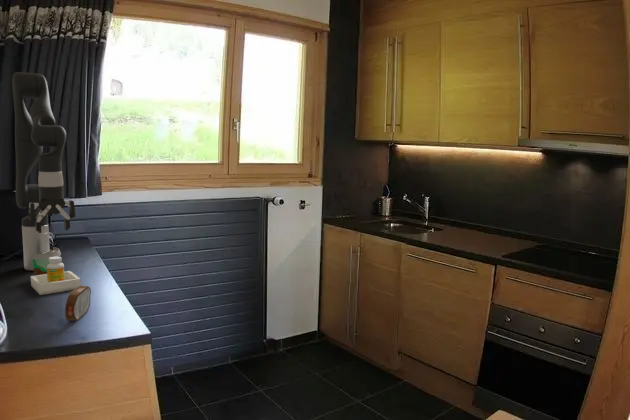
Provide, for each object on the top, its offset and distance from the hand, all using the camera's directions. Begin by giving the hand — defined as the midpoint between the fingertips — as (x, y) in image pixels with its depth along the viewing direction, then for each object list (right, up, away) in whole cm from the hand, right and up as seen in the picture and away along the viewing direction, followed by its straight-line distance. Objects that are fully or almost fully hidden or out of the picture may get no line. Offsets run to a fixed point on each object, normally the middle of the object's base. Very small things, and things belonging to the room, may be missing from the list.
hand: (53, 231), depth 185 cm
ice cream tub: (-8, -18, +16) cm, 25 cm away
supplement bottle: (0, -19, +3) cm, 19 cm away
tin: (+20, -24, -25) cm, 40 cm away
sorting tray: (0, -20, +3) cm, 20 cm away
